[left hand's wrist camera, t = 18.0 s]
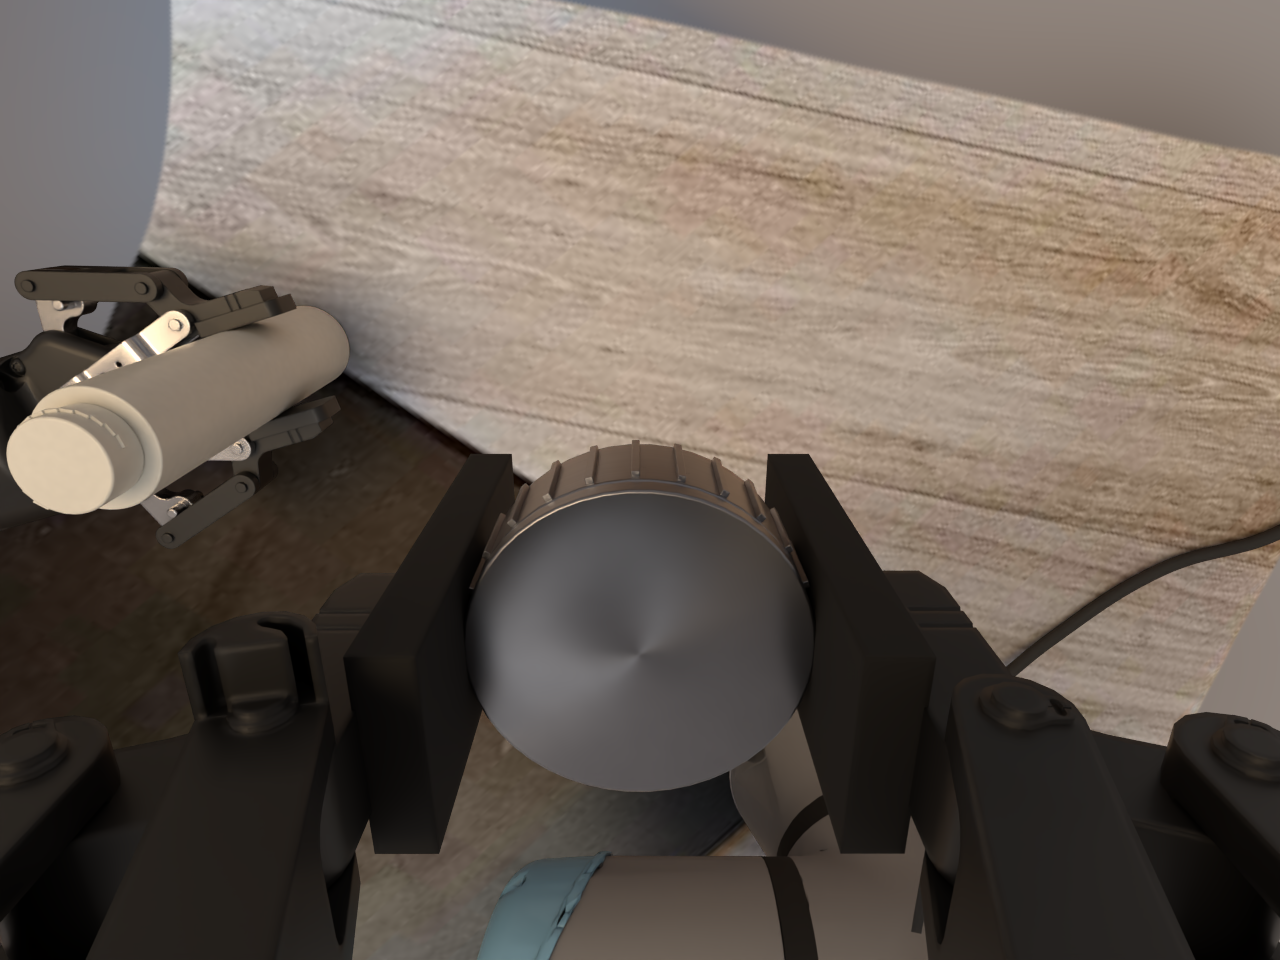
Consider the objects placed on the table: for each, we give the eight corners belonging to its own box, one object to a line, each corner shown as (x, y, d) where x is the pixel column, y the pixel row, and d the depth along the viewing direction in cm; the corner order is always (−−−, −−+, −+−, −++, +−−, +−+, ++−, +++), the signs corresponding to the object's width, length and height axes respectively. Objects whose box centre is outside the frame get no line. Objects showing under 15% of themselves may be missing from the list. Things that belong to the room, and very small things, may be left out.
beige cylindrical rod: (294, 288, 40) (19, 370, 22) (364, 339, 41) (155, 456, 23) (255, 352, 41) (-35, 478, 23) (324, 399, 42) (95, 555, 24)
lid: (625, 763, 13) (622, 850, 12) (418, 572, 12) (380, 638, 10) (857, 600, 12) (893, 670, 10) (656, 370, 11) (660, 405, 9)
